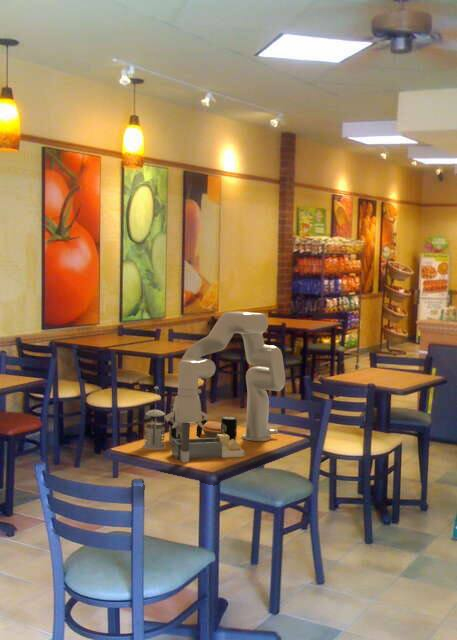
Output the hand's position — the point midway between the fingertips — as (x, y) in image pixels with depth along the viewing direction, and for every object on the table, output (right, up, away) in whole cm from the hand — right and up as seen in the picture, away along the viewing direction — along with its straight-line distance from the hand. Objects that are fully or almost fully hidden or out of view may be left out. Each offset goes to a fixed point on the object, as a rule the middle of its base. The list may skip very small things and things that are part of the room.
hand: (186, 437), depth 292 cm
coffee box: (-6, -7, +34) cm, 35 cm away
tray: (+16, -9, +15) cm, 24 cm away
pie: (+11, -7, +48) cm, 50 cm away
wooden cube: (+17, -4, +14) cm, 22 cm away
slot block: (+4, -9, +10) cm, 14 cm away
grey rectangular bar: (-1, -9, +2) cm, 9 cm away
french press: (-14, -8, +22) cm, 27 cm away
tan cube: (+14, -5, +13) cm, 20 cm away
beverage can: (+16, -8, +30) cm, 35 cm away
